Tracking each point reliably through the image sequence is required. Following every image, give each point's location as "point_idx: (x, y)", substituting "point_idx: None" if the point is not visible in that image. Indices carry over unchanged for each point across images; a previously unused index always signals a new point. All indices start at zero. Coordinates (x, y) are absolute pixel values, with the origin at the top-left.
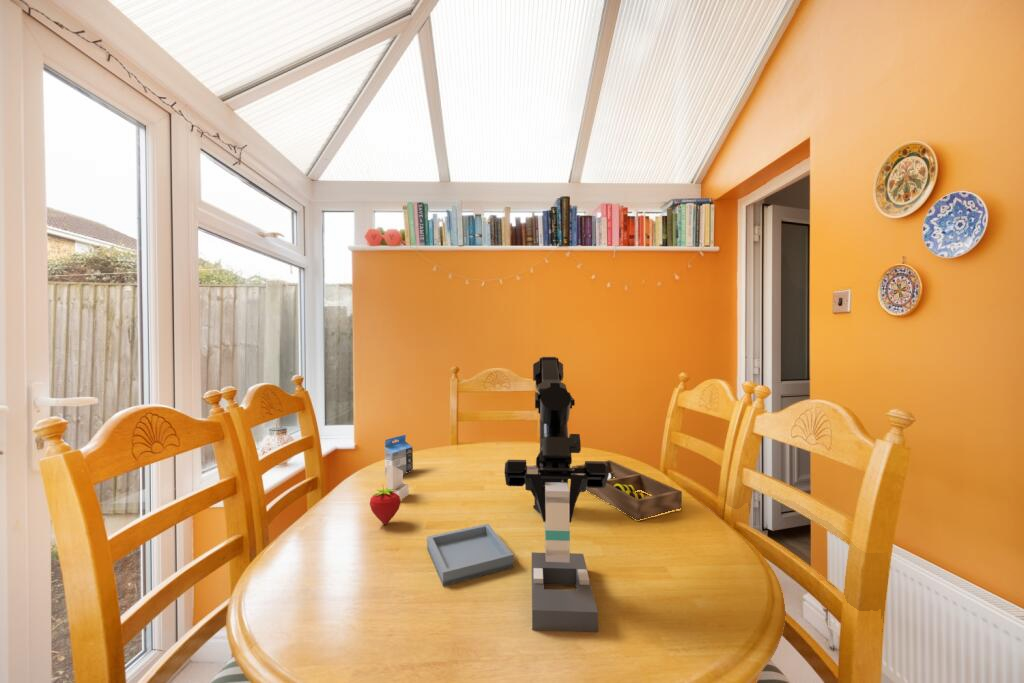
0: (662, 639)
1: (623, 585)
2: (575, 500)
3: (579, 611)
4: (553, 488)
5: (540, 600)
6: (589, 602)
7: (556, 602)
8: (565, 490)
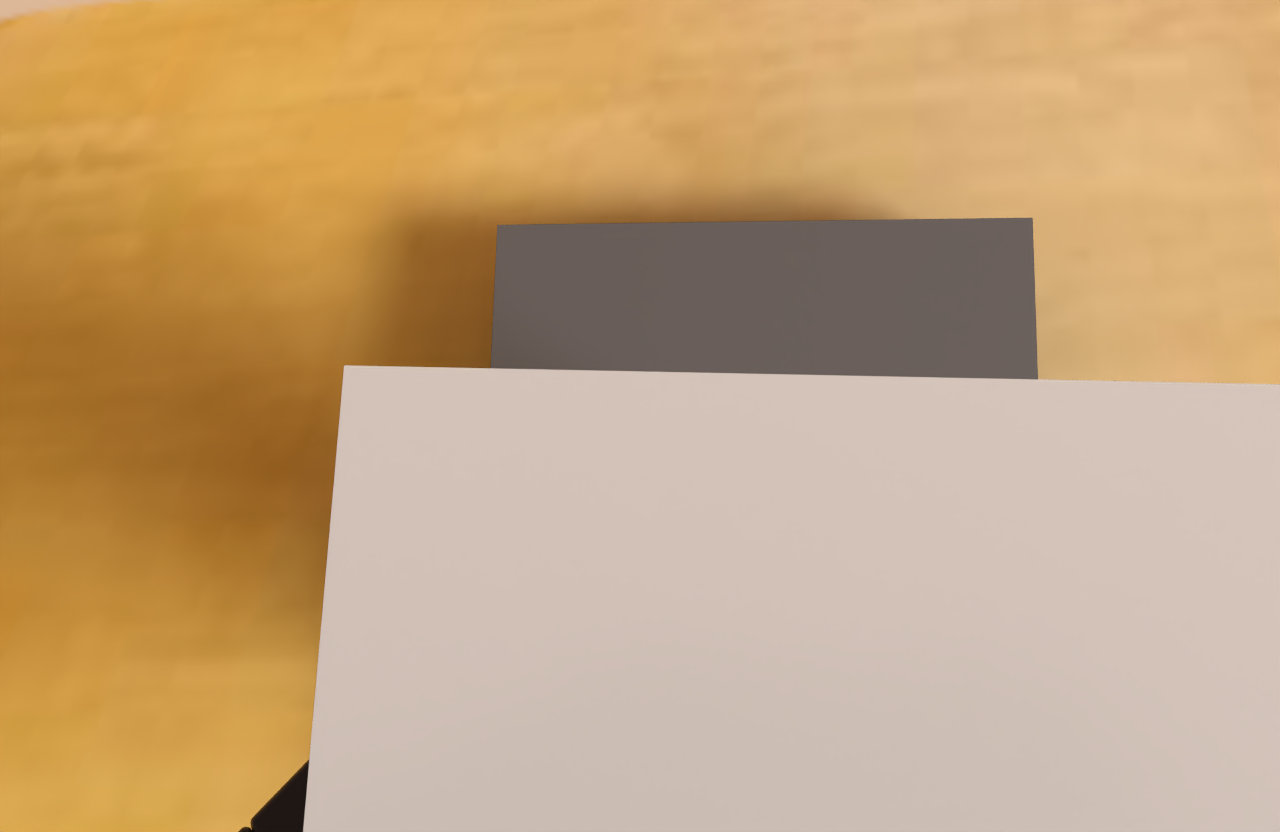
0: (140, 232)
1: (201, 793)
2: (261, 812)
3: (640, 227)
4: (1108, 729)
5: (960, 335)
6: (541, 328)
7: (819, 320)
8: (506, 466)
